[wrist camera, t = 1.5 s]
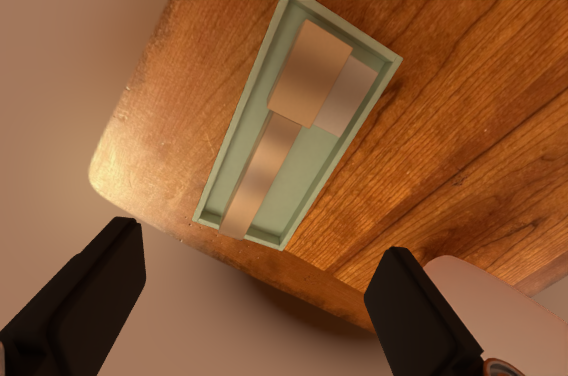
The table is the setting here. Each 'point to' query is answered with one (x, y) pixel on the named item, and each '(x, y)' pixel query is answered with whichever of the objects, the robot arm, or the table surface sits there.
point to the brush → (298, 114)
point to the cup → (502, 318)
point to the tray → (310, 142)
